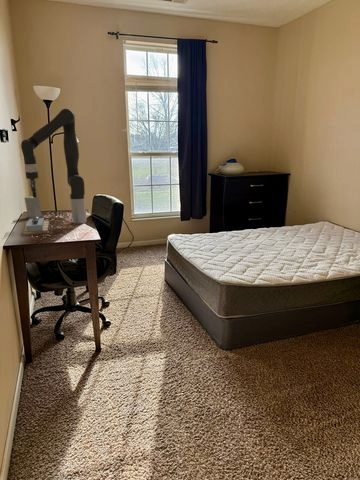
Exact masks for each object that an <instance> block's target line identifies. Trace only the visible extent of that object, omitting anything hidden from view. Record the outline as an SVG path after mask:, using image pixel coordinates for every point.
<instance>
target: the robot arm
mask: <svg viewBox="0 0 360 480" xmlns="http://www.w3.org/2000/svg"><path fill="white" fill-rule="evenodd" d="M75 120H76V116H75V113H74V112H73V110H71V109H69V108H63V109H61V110H60V111H59V112H58V114H56V116H55V117H53V119H51V120H50V121H49V122H48V123H47V124H45V125H44V126H42V127H41V128H39V129H38V130H36V131H35V132H34V133H33V134H32V135H31V136H30V137H28V138H27V139H23V140H22V141H21V142H20V149H21V152H22V155H23V160H24V161H23V162H24V171H25V172H24V173H25V178H26V179H27V180H30V181H29V185H30V186H29V187H30V189H31V192H32V196H33V197H37V195H38V194H37V189H38V188H37V180H36V179H39V171H38V165H37V159H36V156H35V154H34V150H35V149H36V148H38V146H39V145H40V144H42V143H43V142H45V141H47V140H48V139H50V137H51V136H52V135H53V134H54V133H55V132H56V131H58V130H59V129H60V128H63V149H64V150H63V152H64V158H65V165H66V170H67V172H66V173H67V175H66V177H67V178H66V179H67V184H68V186H69V187H70V191H71V192H70V195H69V196H70V197H69V198H70V209H71V219H72V220H71V221H72V223H73V224H85V223H87V208H86V204H85V191H86V190H85V180H84V178H83V176H80V173H79V169H78V168H79V159H80V152H79V145H78V144H79V143H78V138H77V134H76V121H75Z"/></svg>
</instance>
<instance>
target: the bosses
mask: <svg viewBox="0 0 360 480" xmlns="http://www.w3.org/2000/svg"><path fill="white" fill-rule="evenodd" d="M39 218H40V217H33V218H32V219H34V220H32V222H34V225H37V223H38V219H39Z"/></svg>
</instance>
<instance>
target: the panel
mask: <svg viewBox="0 0 360 480" xmlns="http://www.w3.org/2000/svg"><path fill="white" fill-rule="evenodd" d="M32 220H34V219H33V218H28V221H27V222H28V223H27V222H26V223H27V225H26V224H25V226H26V228H27V232H28V231H41V230H43V227H44V221H45V219H44V217H39V219H38V223H37V225H34V222H32Z"/></svg>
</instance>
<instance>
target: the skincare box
mask: <svg viewBox="0 0 360 480" xmlns="http://www.w3.org/2000/svg"><path fill="white" fill-rule="evenodd" d="M24 203H25V207H26V213H27V217H28V219H33V217H39V218H43V214H42V209H41V204H40V198H39V196H37V197H33V195H31V196H27V197H24Z"/></svg>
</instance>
